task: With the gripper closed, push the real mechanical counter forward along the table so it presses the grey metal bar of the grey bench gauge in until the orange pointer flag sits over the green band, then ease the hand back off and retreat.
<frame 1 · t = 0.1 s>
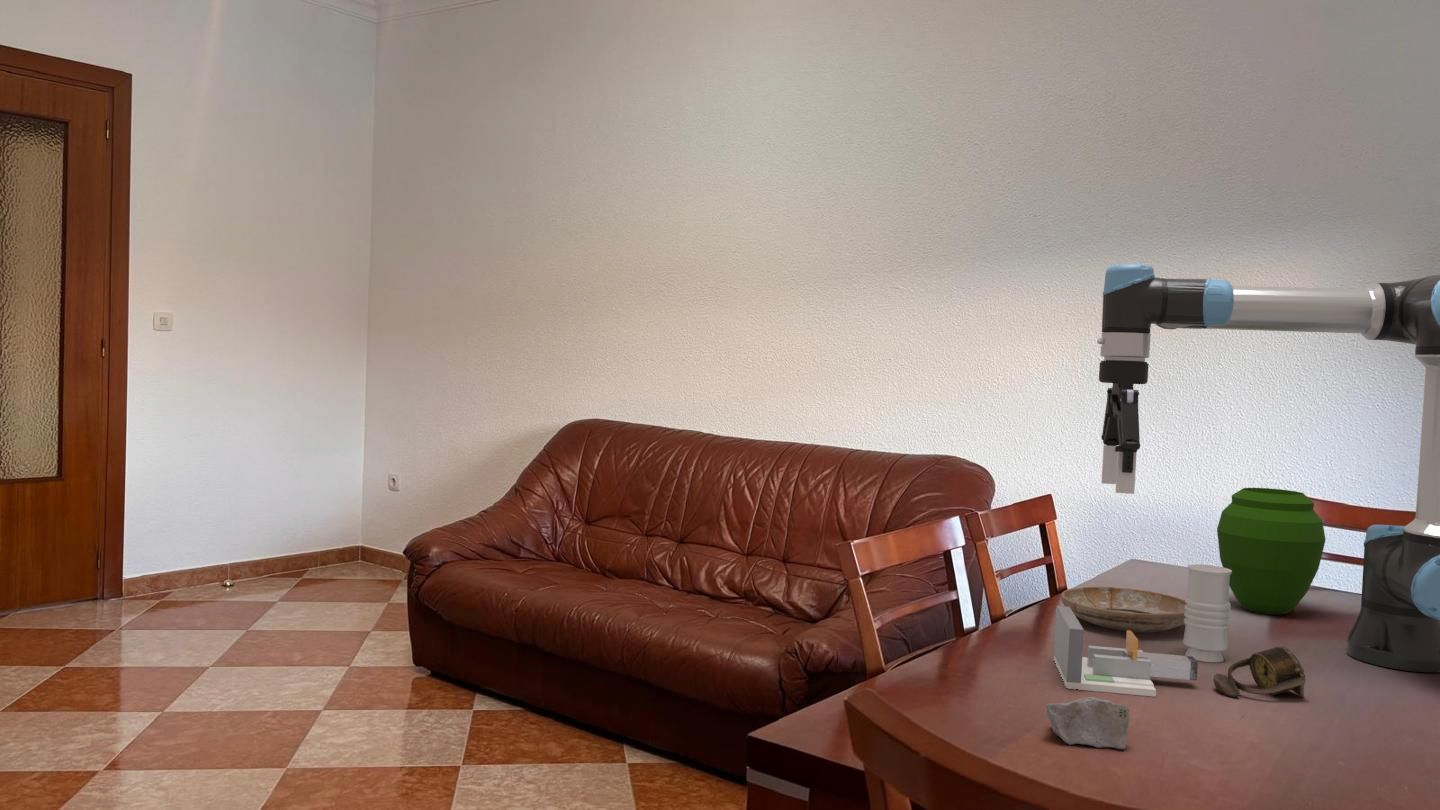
hand: (1117, 488, 173), 28 cm above the table, fingers open, 13 cm apart
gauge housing: (1124, 679, 161), on the table
ceramic bowl: (1125, 625, 197), on the table
grey metal bar: (1162, 657, 158), point 4 cm above the table, slide at 0.0 cm
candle: (1204, 658, 176), on the table
stone: (1085, 742, 134), on the table
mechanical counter: (1256, 694, 157), on the table
vase: (1265, 611, 213), on the table
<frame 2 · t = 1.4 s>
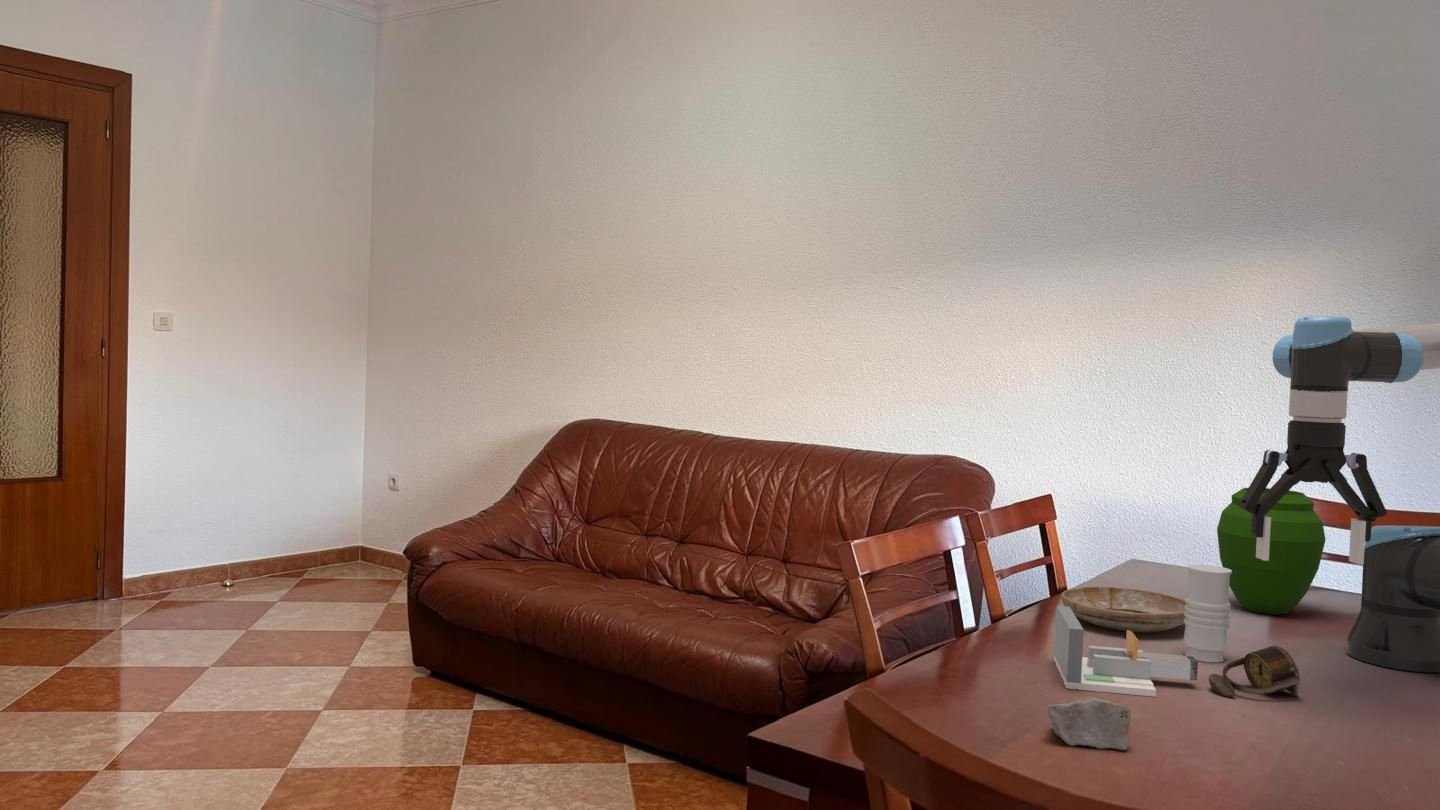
hand: (1309, 561, 158), 20 cm above the table, fingers open, 13 cm apart
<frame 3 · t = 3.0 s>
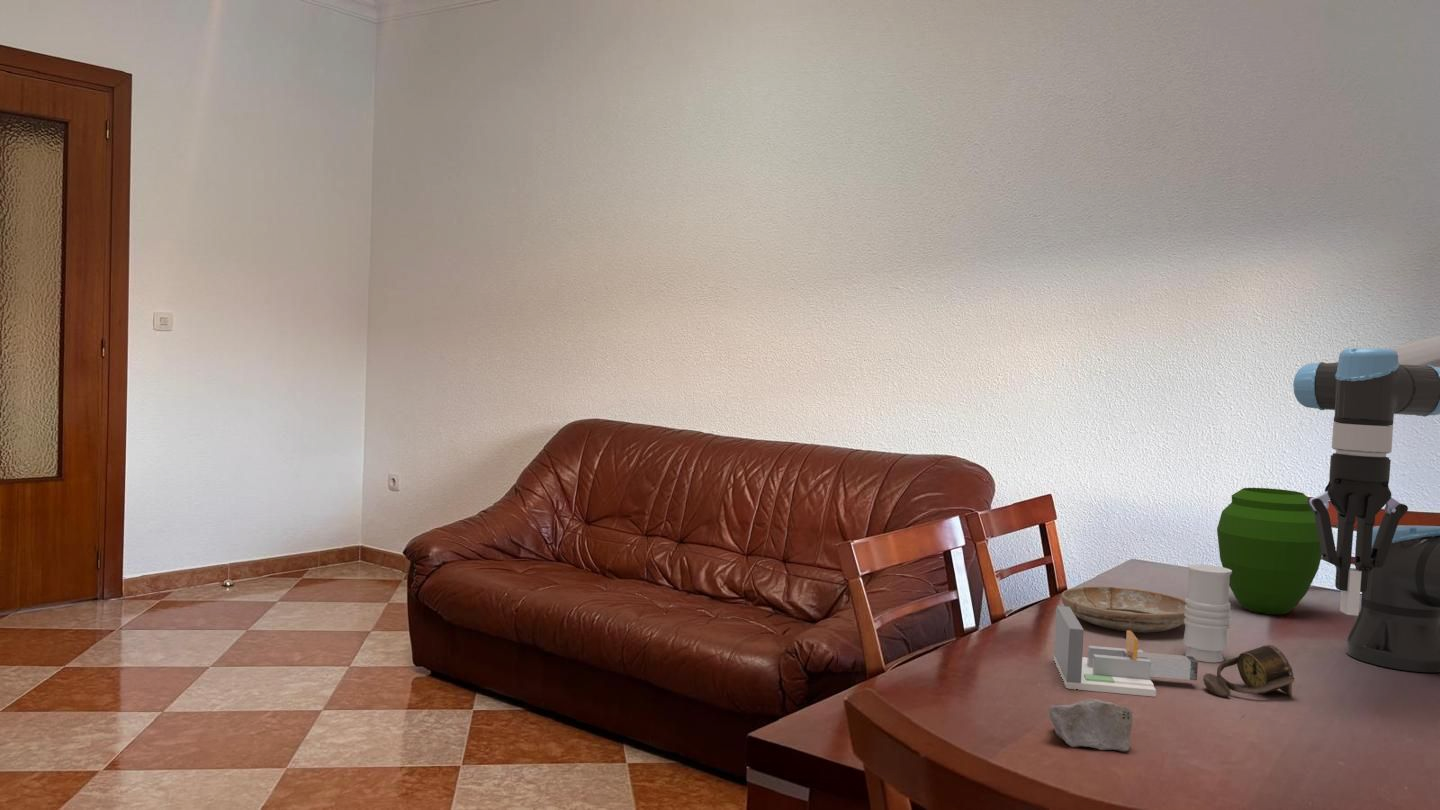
hand: (1349, 612, 154), 13 cm above the table, fingers closed
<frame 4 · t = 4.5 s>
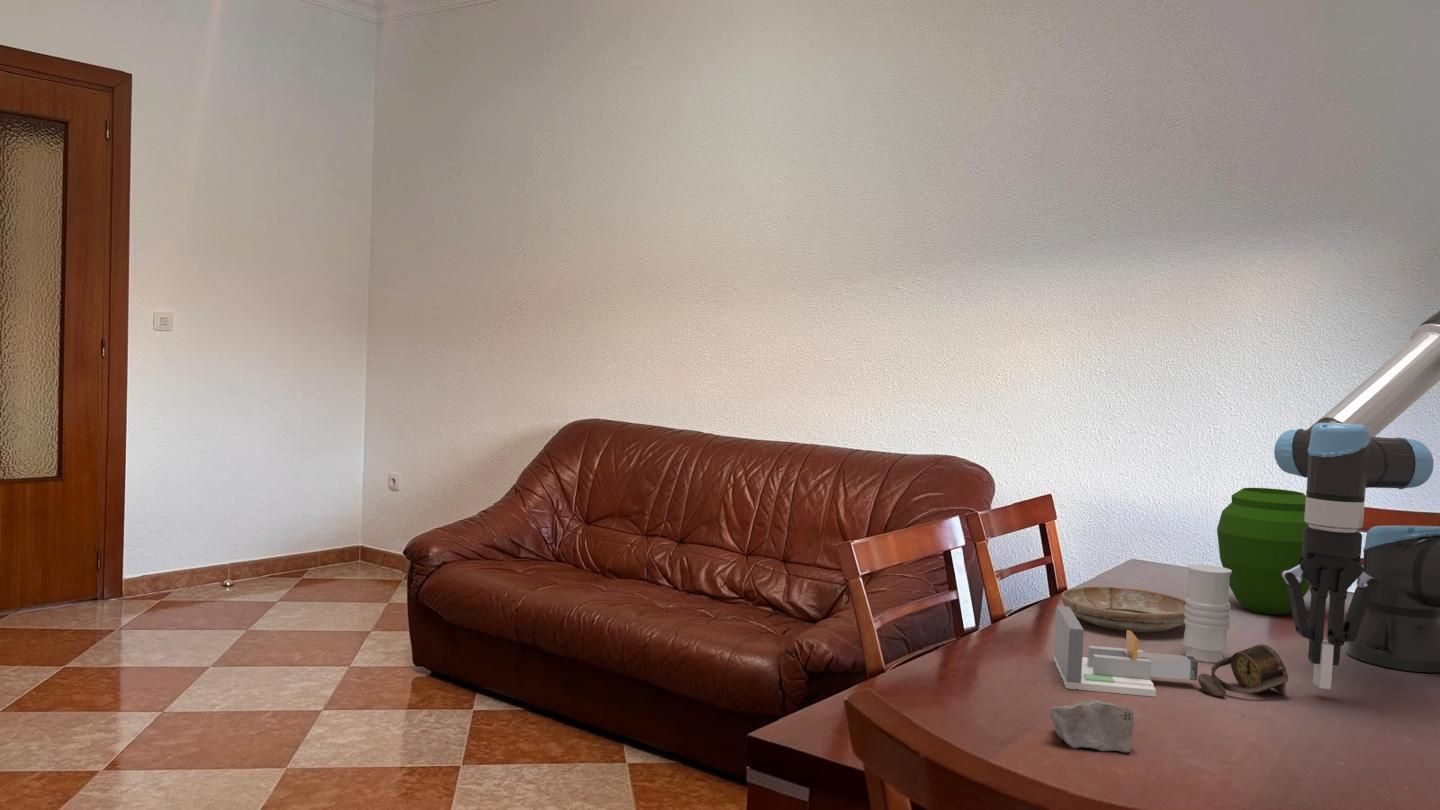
hand: (1321, 685, 155), 2 cm above the table, fingers closed
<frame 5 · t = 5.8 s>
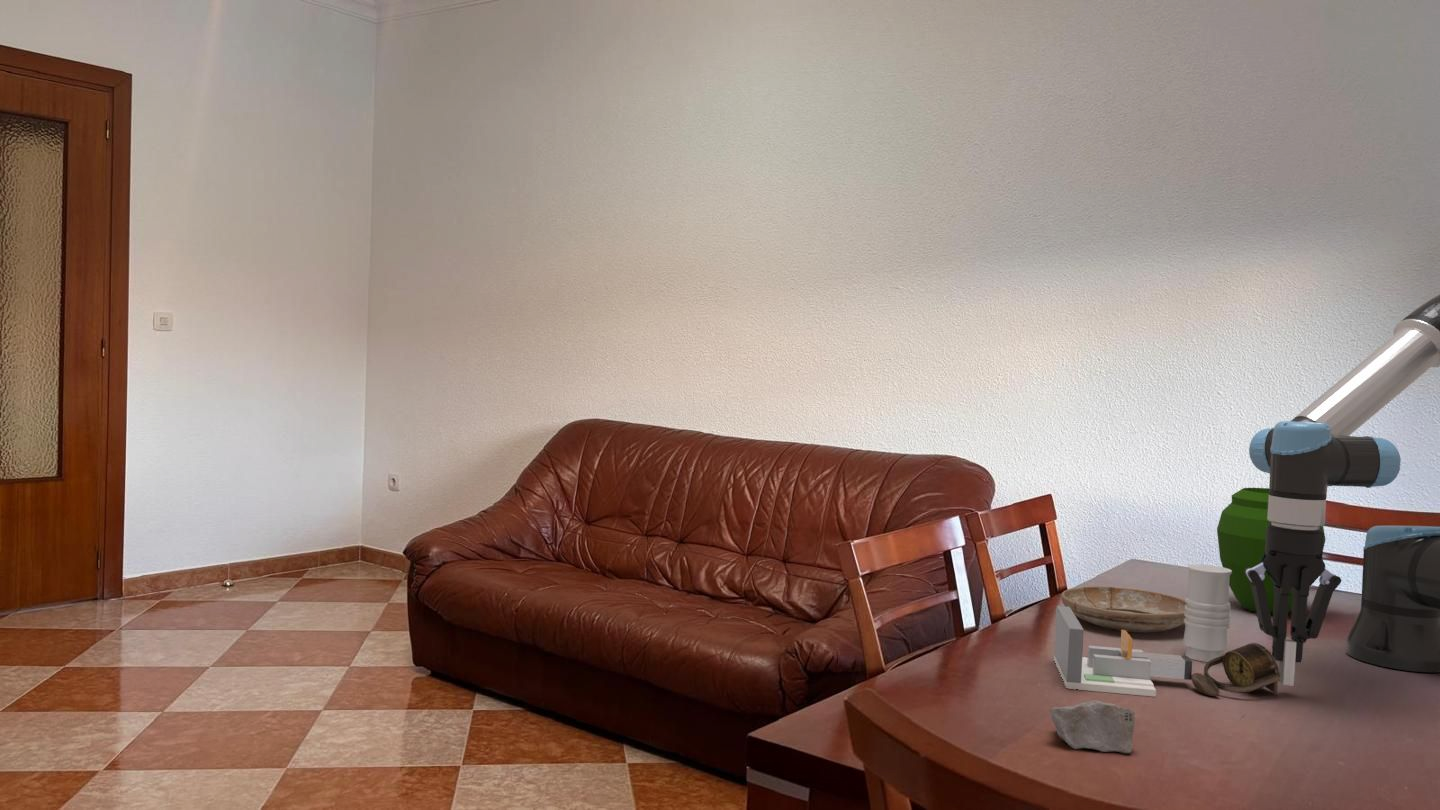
hand: (1285, 682, 156), 2 cm above the table, fingers closed
grey metal bar: (1157, 656, 158), point 4 cm above the table, slide at 0.8 cm, touching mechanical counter
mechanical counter: (1231, 692, 158), on the table, touching gripper, grey metal bar
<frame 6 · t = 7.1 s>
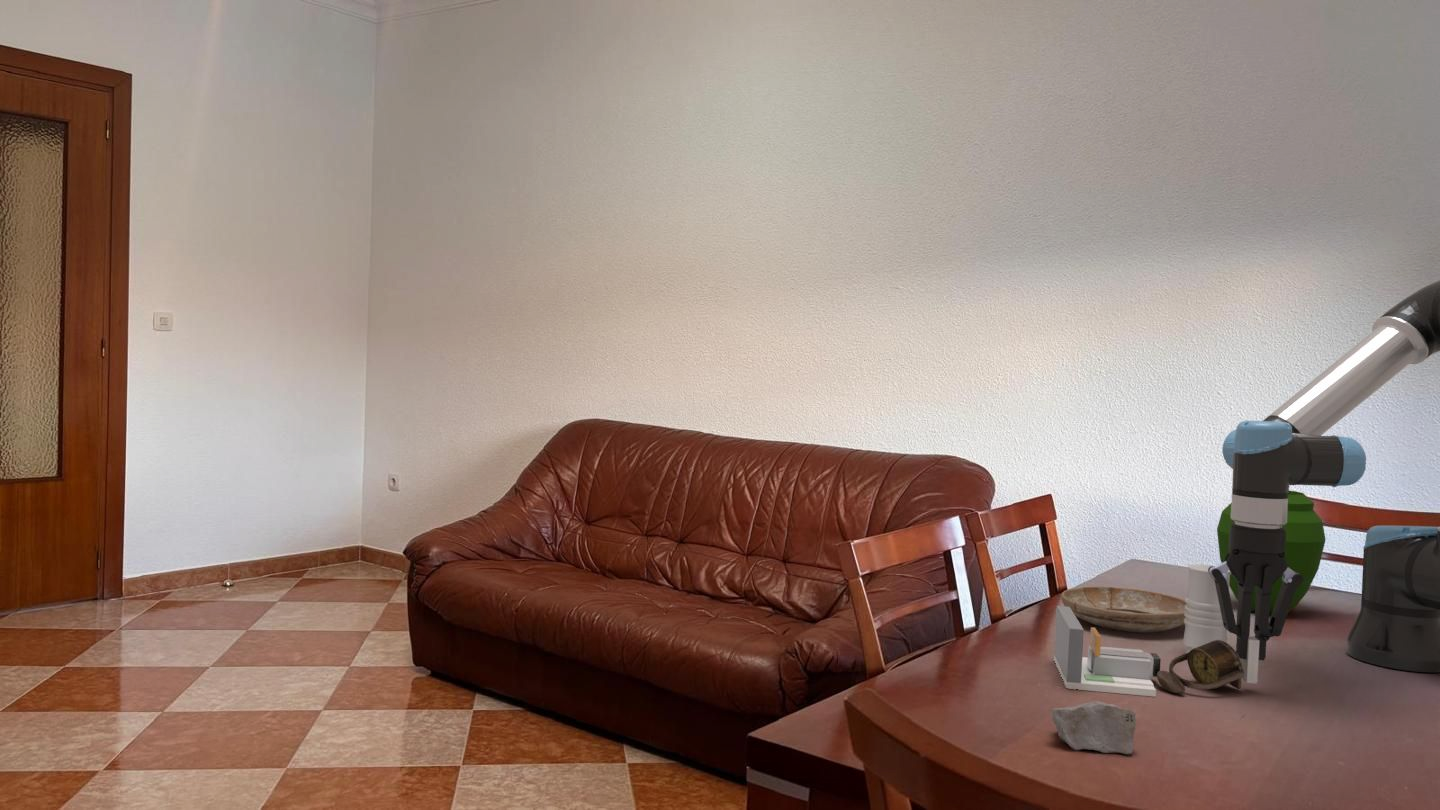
hand: (1249, 680, 157), 2 cm above the table, fingers closed
grey metal bar: (1125, 654, 159), point 4 cm above the table, slide at 5.3 cm
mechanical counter: (1196, 689, 158), on the table, touching gripper
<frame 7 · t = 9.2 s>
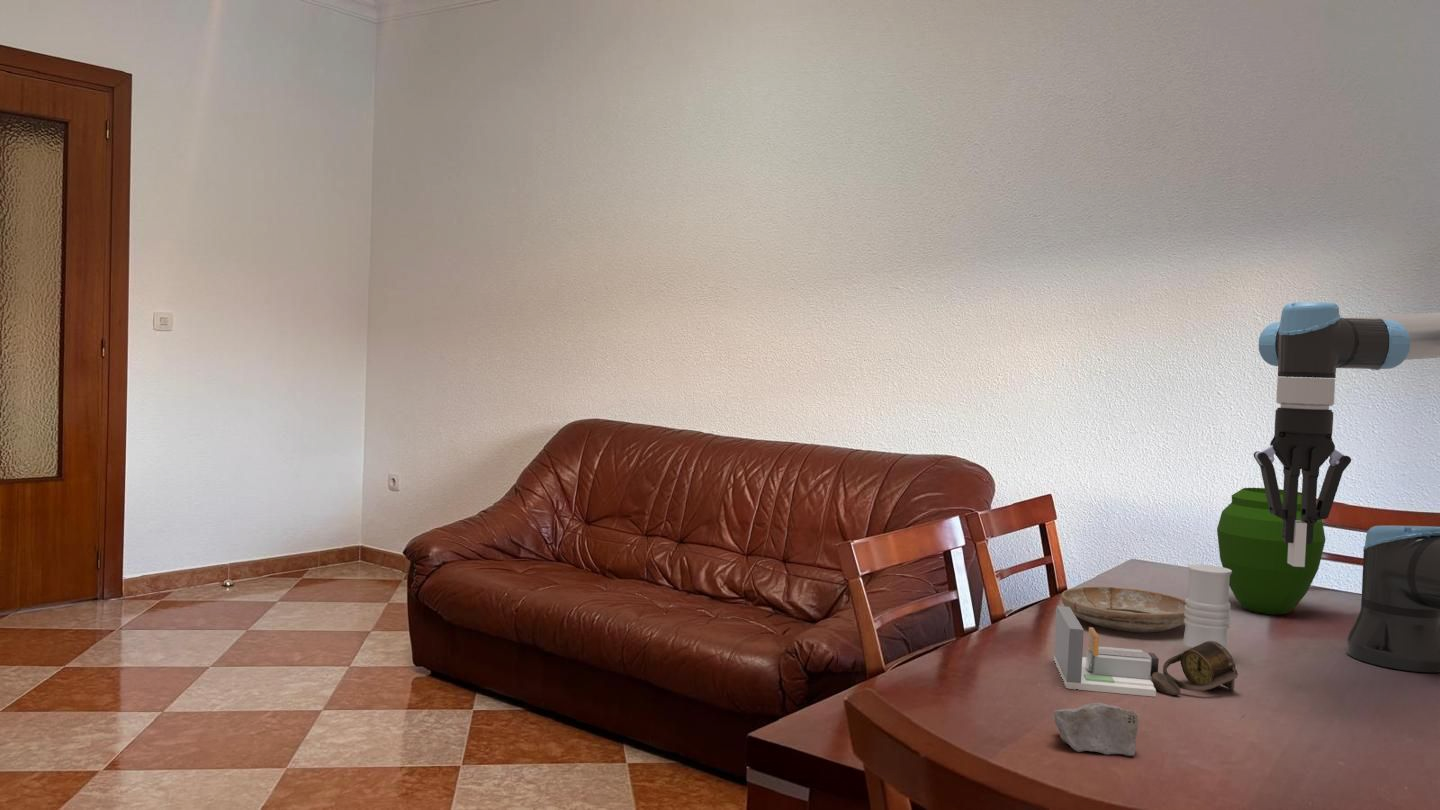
hand: (1295, 564, 156), 19 cm above the table, fingers closed
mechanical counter: (1189, 690, 158), on the table
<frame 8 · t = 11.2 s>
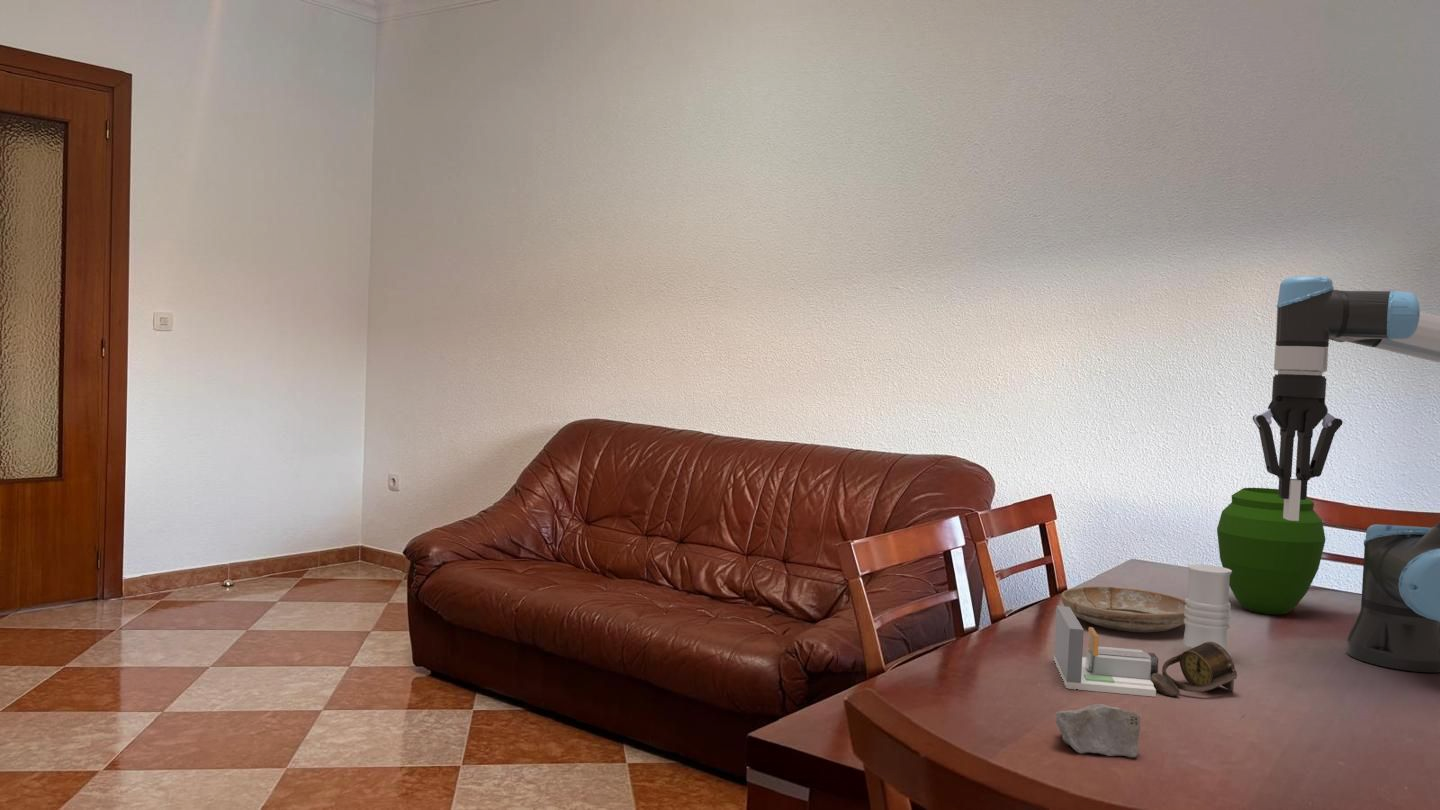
hand: (1290, 519, 169), 24 cm above the table, fingers closed
at the end: grey metal bar slide at 5.6 cm; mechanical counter moved 10.2 cm from its start; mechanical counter tilted 0° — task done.
